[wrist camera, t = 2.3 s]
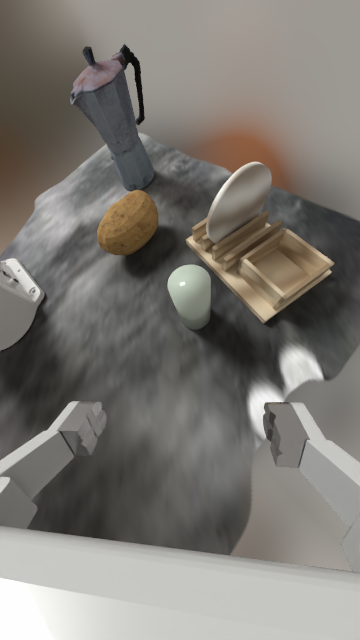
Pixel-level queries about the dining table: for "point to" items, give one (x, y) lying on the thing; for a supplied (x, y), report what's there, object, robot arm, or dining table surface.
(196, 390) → the dining table surface
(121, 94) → the moka pot
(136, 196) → the potato
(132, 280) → the dining table surface
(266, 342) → the dining table surface
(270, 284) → the rack
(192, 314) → the pale green glossy part
